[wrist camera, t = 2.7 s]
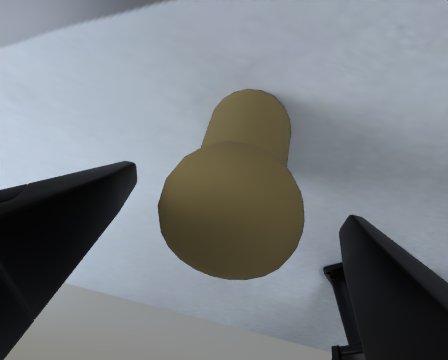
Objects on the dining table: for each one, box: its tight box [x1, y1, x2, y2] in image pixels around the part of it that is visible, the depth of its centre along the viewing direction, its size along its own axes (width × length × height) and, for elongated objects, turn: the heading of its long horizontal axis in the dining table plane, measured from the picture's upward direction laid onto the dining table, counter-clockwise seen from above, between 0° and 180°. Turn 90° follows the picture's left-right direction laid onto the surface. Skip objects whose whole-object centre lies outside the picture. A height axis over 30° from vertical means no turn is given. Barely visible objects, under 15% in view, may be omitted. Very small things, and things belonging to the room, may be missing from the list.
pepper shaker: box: [158, 89, 305, 280], centre depth 11 cm, size 6×6×11 cm
